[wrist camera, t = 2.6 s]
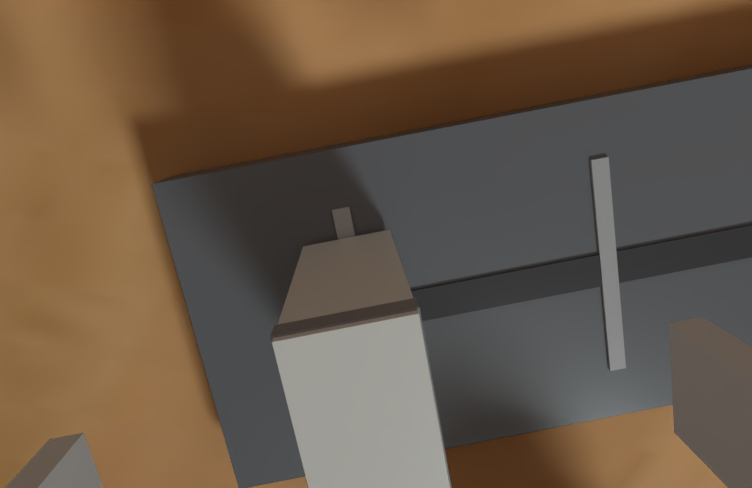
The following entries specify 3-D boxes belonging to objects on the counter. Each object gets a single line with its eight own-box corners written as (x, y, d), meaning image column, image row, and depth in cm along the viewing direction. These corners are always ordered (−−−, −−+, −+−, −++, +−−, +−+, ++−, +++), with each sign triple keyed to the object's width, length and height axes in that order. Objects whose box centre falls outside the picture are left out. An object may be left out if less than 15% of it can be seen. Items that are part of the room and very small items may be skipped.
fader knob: (337, 403, 20) (330, 585, 12) (301, 245, 19) (268, 340, 11) (420, 387, 20) (465, 559, 13) (390, 227, 19) (421, 310, 11)
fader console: (248, 457, 23) (238, 491, 21) (170, 176, 20) (149, 184, 18) (945, 321, 23) (1004, 342, 21) (966, 23, 20) (1037, 13, 18)
